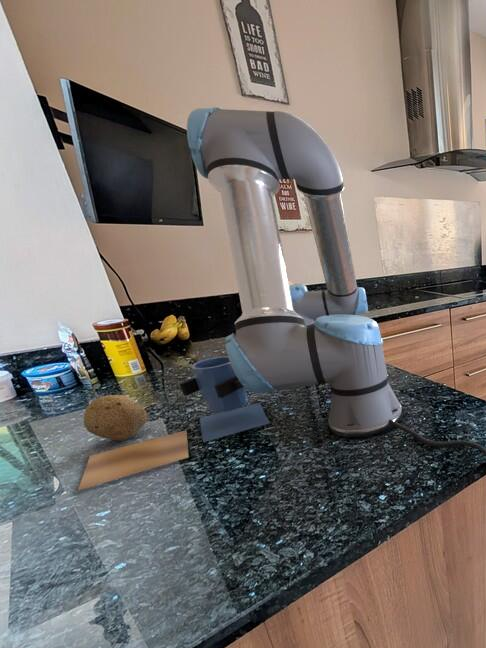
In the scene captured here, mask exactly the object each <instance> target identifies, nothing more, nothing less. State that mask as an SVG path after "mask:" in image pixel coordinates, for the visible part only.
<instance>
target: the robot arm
mask: <svg viewBox="0 0 486 648" xmlns="http://www.w3.org/2000/svg"><path fill="white" fill-rule="evenodd" d="M186 136H187V144H188V147H189V150H190V151H191V158H192V162H193V164H194V166H195V168H196V170H197V171H198V173H199V175H201V177H203V178H205V179H207V180H208V183H209V185H210V187H212V188H214V189H215V190H216V191H217V192H219V193H220V198H221V199H220V200H221V203H222V208H223V214H224V220H225V225H226V226H225V227H226V231H227V237H228V242H229V247H230V252H231V258H232V263H233V268H234V274H235V279H236V285H237V291H239V293H238V295H239V301H240V302H239V303H240V306H241V316H239V317H238V318H237V319H236V321H235V322H234V327H235V333H231V334H230V335H229V334H228V336H226V338H225V350H226V353H227V356H228V358H229V361H230V364H231V366H232V368H233V371H234V373H235V374H236V376H234V377H232V378H229V379H227V380H225V381H223V382H221V383H219V384H217V385H214V386H215V389H216V392H217V395H218V397H219V398H223V397H225V396H226V395H228V394H230V393H232V392H234V391H236V390H238V389H240V388H242V387H245V390H246V391H249V392H251V393H254V394H264V393H273V392H275V393H280V391H285V390H293V389H299V388H304V387H311V386H318V385H323V384H328V385H329V387H330V392H331V397H330V405H329V413H328V420H327V421H328V426H329V429H330V431H331V433H332V434H333V435H335V436H338V437H342V438H348V439H349V438H351V439H355V438H356V439H357V438H366V437H371V436H375V435H379V434H381V433H384V432H387V431H388V430H390V429H392V428H394V427H395V428H397V429H399V430H400V431H402V432H405V433H407V434H409V435H410V436H412V437H414V438H416V440H418V441H419V442H421V443H423V444H425V445H427V446H431V447H437V448H442V447H443V448H444V447H456V446H465V447H470V448H473V449H476V450H479V451H480V452H481V453H482V454H483V455H484V457H486V447H484V446H483V445H481V444H479V443H476V442H473V441H468V440H449V441H433V440H430V439H427V438H425V437H424V436H422V435H421V434H420V433H418V432H416V431H414V430H413V429H411V428H409V427H407V426H404V425H403V424H401V423H400V422H401V420H402V419H403V415H404V414H403V408H402V405H401V403H400V402H399V399H398V398H397V396H396V394H395V391H394V390H393V389H392V386H391V385H390V382H389V378H388V377H389V376H388V370H387V365H386V359H385V353H384V347H383V344H384V341H383V339H382V335H381V330H380V327H379V324H378V323H377V321H375V320H374V319H372V318H370V317H367V316H364V315H365V314H367V313H368V312H369V306H368V301H367V300H368V299H367V295H366V289H365V288H364V287H359V286H358V284H357V278H356V274H355V273H356V272H355V266H354V262H353V257H352V251H351V245H350V240H349V235H348V234H349V233H348V227H347V222H346V217H345V212H344V211H345V210H344V206H343V200H342V195H341V194H342V193H343V191H344V190H345V184H344V179H343V173H342V170H341V167H340V164H339V162H338V160H337V157H336V156H335V154H334V152H333V151H332V149H331V148H330V147H329V145H328V144H327V142H326V141H325V140H324V138H323V137H322V136H321V134H319V132H317V131H316V130H315V129H314V128H313V127H312V126H311V125H310V124H309V123H307V122H306V121H305V120H303V119H302V118H300V117H298V116H296V115H294V114H292V113H289V112H286V111H279V110H274V111H269V110H247V109H246V110H245V109H224V108H222V107H217V106H213V107H211V108H210V107H208V108H207V107H206V108H205V107H202V108H195V109H193V110H192V111H191V112H190V113H189V114H188V117H187V121H186ZM280 180H294V182H295V185H296V186H295V187H296V189H297V191H298V192H299V193H301V194H302V195H303V197H304V201H305V205H306V209H307V214H308V217H309V221H310V225H311V230H312V233H313V237H314V240H315V245H316V250H317V255H318V259H319V263H320V266H321V270H322V274H323V279H324V281H325V286H326V289H324V290H313V291H312V290H308V288H307V286H306V285H305V284H302V283H301V284H300V283H299V284H297V283H293V284H294V285H289V281H290V280H289V276H288V272H287V266H286V260H285V254H284V248H283V244H282V237H281V232H280V228H279V223H278V217H277V211H276V206H275V201H274V196H276V195H277V194H278V193H279V191H280V187H281V185H280ZM288 280H289V281H288ZM296 284H297V285H296ZM178 384H179V387H180V389H181V393H182V395H183V396H185V397H187V396H190V395H192V394H194V393H197V392H200V389H199V386H198V384H197V381H196V379H195V376H194V377H192V378H189V379H187V380H185V381H183V382H179V383H178Z"/></svg>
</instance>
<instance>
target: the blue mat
mask: <svg viewBox="0 0 486 648" xmlns="http://www.w3.org/2000/svg"><path fill="white" fill-rule="evenodd" d="M269 424H270V421H269V419H268V417H267V415H266V413H265V410H264V409H263V407H262V405H261V403H260V402H256V403H254V404H249V405H244V406H242V407H240V408H237V409H234V410H231V411H226V412H219V413H214V414H211V415H206V416H203V417H199V425H200V432H201V437H202V443H206V442H209V441H213V440H217V439H220V438H223V437H227V436H231V435H234V434H237V433H241V432H245V431H248V430H252V429H255V428H259V427H262V426H265V425H269Z"/></svg>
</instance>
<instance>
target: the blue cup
mask: <svg viewBox="0 0 486 648" xmlns="http://www.w3.org/2000/svg"><path fill="white" fill-rule="evenodd" d="M190 367H191V370H192V373H193V375H194V377H195V379H196V381H197V384H198V386H199V389H200V390H199V392H200V394H201V396H202V400H203V402H204V404H205V407H206V409H207V411H208V412H210V413H214V414H218V413H222V412H226V411H231V410H234V409H237V408H241V407H245V406H246V405H247V404H248V403H249V396H248V394H247V393H248V392H247V389H246V388H245V387H242V388H240V389H238V390H236V391H234V392H232V393H230V394H228V395H226V396H225V397H223V398H219V397H218V395H217V392H216V389H215V386H214V385H217V384H219V383H221V382H223V381H225V380H227V379H229V378H232V377H234V376H236V374H235V373H234V371H233V368H232V366H231V364H230V361H229V358H228V355H227V356H226V355H225V356H216V357H209V358H206V359H202V360H200V361H197V362H194V363H193V364H191V366H190Z"/></svg>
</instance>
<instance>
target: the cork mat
mask: <svg viewBox="0 0 486 648" xmlns="http://www.w3.org/2000/svg"><path fill="white" fill-rule="evenodd" d="M187 431H188V430H187V429H186V430H181V431H177V432H173V433H170V434H166V435H162V436H158V437H155V438H151V439H148V440H144V441H140V442H136V443H133V444H128V445H125V446H121V447H117V448H114V449H110V450H106V451H102V452H99V453H95V454H92V455H91V454H90V455H89V458H88V460H87V462H86V466H85V469H84V472H83V475H82V477H81V480H80V483H79V486H78V489H77V491H82V490H85V489H88V488H91V487H96V486H99V485H101V484H105V483H108V482H111V481H115V480H118V479H121V478H125V477H128V476H132V475H134V474H138V473H141V472H145V471H148V470H151V469H152V470H153V469H155V468H158V467H162V466H165V465H168V464H171V463H175V462H178V461H182V460H185V459H188V458H190V457H189V444H188V432H187Z"/></svg>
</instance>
